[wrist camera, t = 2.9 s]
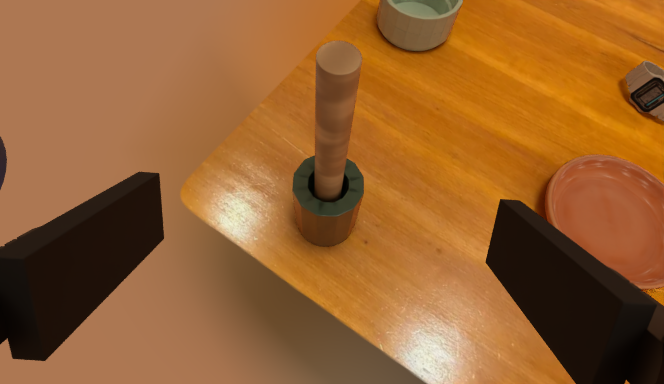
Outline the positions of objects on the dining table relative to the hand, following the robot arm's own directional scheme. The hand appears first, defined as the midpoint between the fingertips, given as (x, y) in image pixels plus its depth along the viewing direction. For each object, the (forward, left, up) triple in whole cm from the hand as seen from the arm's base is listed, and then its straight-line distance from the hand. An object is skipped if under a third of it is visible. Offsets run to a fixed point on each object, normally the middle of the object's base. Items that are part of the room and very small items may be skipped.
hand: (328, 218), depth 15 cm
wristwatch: (+24, +49, -27) cm, 61 cm away
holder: (-5, +9, -27) cm, 29 cm away
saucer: (+23, +26, -27) cm, 44 cm away
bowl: (-11, +43, -27) cm, 52 cm away
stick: (-5, +9, -26) cm, 28 cm away
